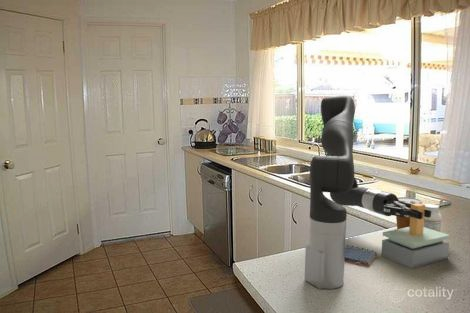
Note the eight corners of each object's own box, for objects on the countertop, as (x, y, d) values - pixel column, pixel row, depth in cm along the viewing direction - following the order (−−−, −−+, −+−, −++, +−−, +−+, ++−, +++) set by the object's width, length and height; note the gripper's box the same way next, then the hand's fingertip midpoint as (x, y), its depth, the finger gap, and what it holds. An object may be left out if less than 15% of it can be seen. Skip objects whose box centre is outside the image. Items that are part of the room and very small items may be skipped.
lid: (413, 251, 110) (416, 212, 108) (382, 239, 119) (384, 203, 118) (449, 242, 117) (452, 205, 116) (417, 231, 127) (419, 197, 125)
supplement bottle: (420, 237, 136) (423, 202, 134) (441, 242, 132) (444, 205, 130) (415, 243, 131) (417, 206, 129) (437, 247, 127) (439, 209, 125)
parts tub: (412, 268, 111) (413, 252, 110) (381, 255, 120) (382, 239, 119) (447, 258, 118) (449, 242, 117) (416, 246, 128) (417, 231, 127)
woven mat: (333, 261, 117) (333, 254, 117) (344, 250, 126) (345, 244, 126) (368, 269, 111) (369, 262, 111) (378, 257, 120) (378, 250, 120)
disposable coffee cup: (424, 231, 142) (426, 199, 141) (415, 238, 136) (417, 204, 134) (398, 226, 149) (400, 195, 147) (388, 232, 142) (390, 200, 140)
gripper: (364, 193, 126) (410, 205, 111) (394, 189, 132) (442, 200, 117) (363, 215, 127) (409, 230, 112) (393, 210, 133) (440, 224, 118)
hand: (425, 214), depth 115 cm, fingers closed on lid, 3 cm apart
